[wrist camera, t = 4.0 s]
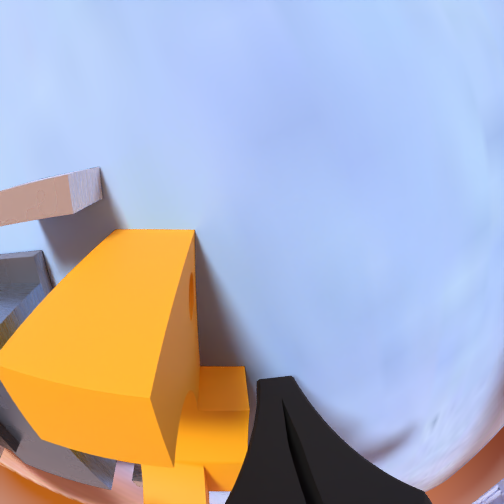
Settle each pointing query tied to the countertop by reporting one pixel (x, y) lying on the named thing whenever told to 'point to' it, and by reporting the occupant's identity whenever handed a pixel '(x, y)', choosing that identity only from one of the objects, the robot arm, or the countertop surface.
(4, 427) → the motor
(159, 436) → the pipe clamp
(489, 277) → the countertop surface
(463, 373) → the countertop surface
